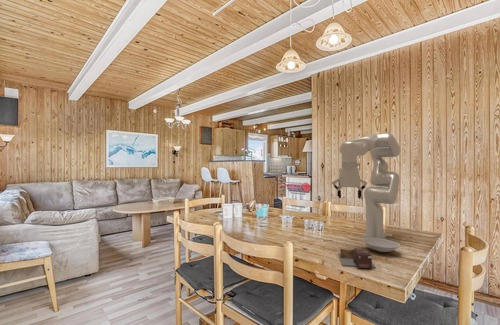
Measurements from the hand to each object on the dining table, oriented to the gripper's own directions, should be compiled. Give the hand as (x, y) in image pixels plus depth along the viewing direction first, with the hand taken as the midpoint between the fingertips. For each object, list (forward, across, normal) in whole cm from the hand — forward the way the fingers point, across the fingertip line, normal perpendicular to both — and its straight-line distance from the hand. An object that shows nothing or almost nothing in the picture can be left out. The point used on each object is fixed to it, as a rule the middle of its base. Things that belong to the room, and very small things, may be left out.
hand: (349, 198), depth 132 cm
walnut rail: (+28, 0, +10) cm, 30 cm away
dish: (+28, -16, -3) cm, 33 cm away
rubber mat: (+28, 0, +12) cm, 31 cm away
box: (+25, -2, +14) cm, 28 cm away
